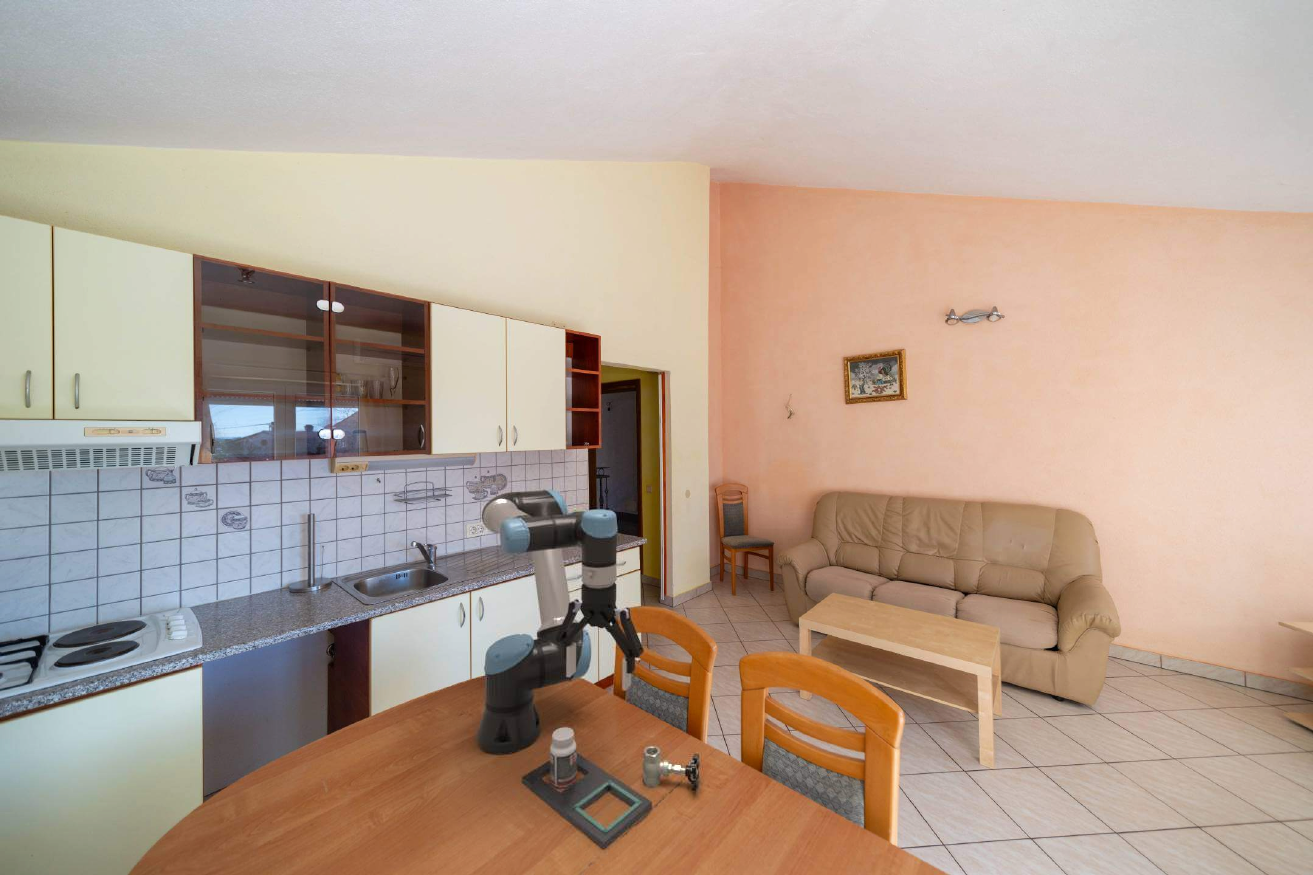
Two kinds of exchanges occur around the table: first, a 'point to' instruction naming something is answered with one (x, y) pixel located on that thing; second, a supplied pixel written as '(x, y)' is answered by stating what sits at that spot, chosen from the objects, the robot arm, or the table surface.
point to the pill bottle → (563, 758)
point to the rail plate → (589, 800)
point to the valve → (667, 768)
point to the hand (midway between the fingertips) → (598, 680)
